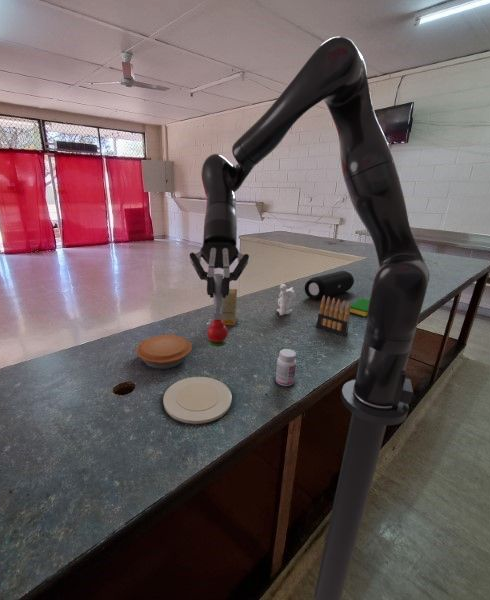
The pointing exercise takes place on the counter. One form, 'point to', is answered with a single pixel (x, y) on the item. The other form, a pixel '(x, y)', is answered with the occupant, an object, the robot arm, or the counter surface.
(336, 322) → the ammunition clip
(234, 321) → the shoe polish box
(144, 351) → the pie
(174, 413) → the plate
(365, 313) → the dish sponge
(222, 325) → the forked strawberry
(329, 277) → the portable speaker
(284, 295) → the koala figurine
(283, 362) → the pill bottle
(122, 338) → the counter surface
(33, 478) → the counter surface
